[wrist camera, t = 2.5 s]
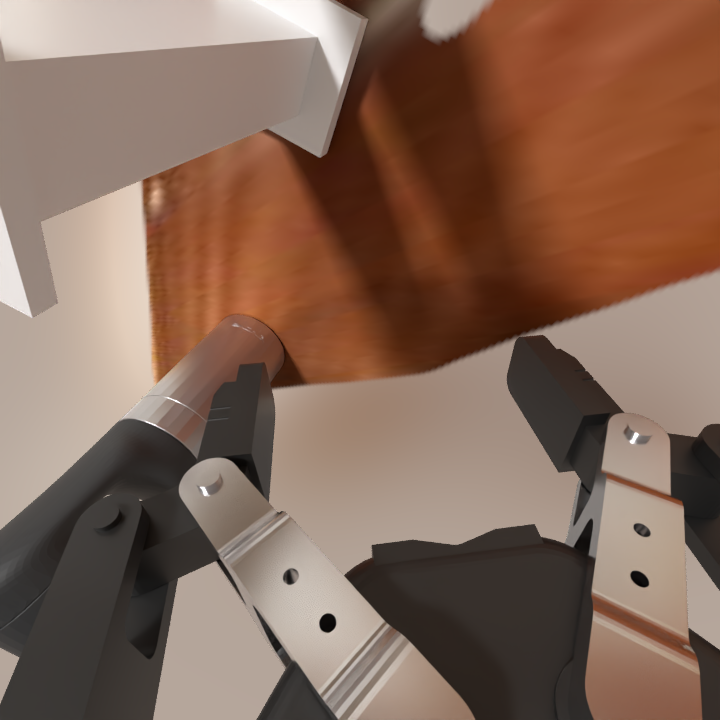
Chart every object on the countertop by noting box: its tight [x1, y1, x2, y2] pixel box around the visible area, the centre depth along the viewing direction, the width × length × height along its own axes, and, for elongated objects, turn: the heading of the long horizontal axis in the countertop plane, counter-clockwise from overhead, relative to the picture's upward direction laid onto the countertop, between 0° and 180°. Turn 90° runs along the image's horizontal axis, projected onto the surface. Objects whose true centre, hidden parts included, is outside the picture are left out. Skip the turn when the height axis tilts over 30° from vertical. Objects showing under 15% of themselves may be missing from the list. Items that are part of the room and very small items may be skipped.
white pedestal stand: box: [0, 0, 368, 318], centre depth 20 cm, size 9×10×26 cm
